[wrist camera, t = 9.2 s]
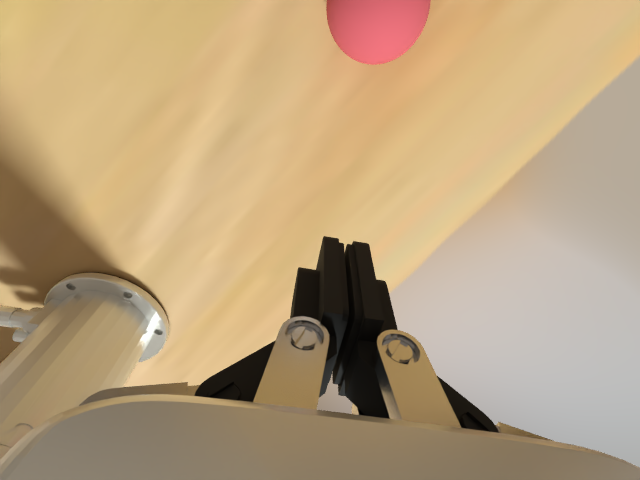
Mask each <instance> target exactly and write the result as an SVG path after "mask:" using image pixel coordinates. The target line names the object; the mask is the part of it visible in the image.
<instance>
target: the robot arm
mask: <svg viewBox="0 0 640 480" xmlns="http://www.w3.org/2000/svg"><path fill="white" fill-rule="evenodd" d="M0 326H4V327H11V328H13V327H19V328H18V329H17V330H16V331H15V332H14V334H13V340H14V341H16V342H21V343H20V344H19V345H18V346H17V347H16V348H15V349H14V350H13V351H12V352H11V353H10V354H9V356H8V357H7V358H6V359H5V360H4V361H3V362H2V363H1V364H0V480H640V468H639V467H637V466H635V465H633V464H631V463H628V462H626V461H624V460H622V459H619V458H616V457H613V456H611V455H607V454H605V453H602V452H599V451H595V450H591V449H588V448H584V447H580V446H576V445H571V444H566V443H561V442H555V441H552V440H550V439H547V438H544V437H541V436H538V435H535V434H532V433H530V432H526V431H524V430H521V429H518V428H515V427H512V426H509V425H506V424H503V423H501V422H498V424H497V425H494V423H493V422H492V421H491V420H490V419H489V418H488V417H487V416H486V415H485V414H484V413H483V412H482V411H480V410H479V409H478V408H477V407H475V406H474V405H473V404H472V403H470V402H469V401H468V400H467V399H465V398H464V397H463V396H462V395H460V394H459V393H458V392H457V391H455V390H454V389H453V388H452V387H450V386H449V385H448V384H447V383H445V382H444V381H443V380H442V379H440V378H439V377H438V376H436V374H435V371H434V369H433V367H432V365H431V363H430V361H429V359H428V357H427V355H426V353H425V351H424V348H423V347H422V345H421V344H420V343H419V342H418V341H417V340H416V339H415V338H414V337H413V336H411V335H409V334H408V333H405V332H403V331H399V330H397V325H396V322H395V317H394V313H393V309H392V305H391V301H390V296H389V292H388V288H387V284H386V282H385V281H382V280H376V277H375V272H374V267H373V262H372V257H371V252H370V247H369V244H367V243H361V242H355V241H354V242H353V243H352V245H350V244H347V246H346V250H345V254H344V244H343V243H339V239H337V238H331V237H325V236H324V237H323V241H322V245H321V250H320V254H319V259H318V264H317V268H316V270H312V269H306V268H300V267H299V268H298V272H297V277H296V283H295V288H294V295H293V301H292V308H291V316H290V319H288V320H287V321H286V322H284V323H283V325H282V326H281V328H280V331H279V333H278V336H277V339H276V341H274V342H272V343H270V344H268V345H267V346H265V347H263V348H261V349H260V350H258V351H256V352H254V353H252V354H251V355H249V356H247V357H245V358H244V359H242V360H240V361H238V362H236V363H235V364H233V365H231V366H229V367H227V368H226V369H224V370H222V371H220V372H219V373H217V374H215V375H213V376H211V377H210V378H208V379H207V380H206V381H204V382H203V383H202V384H201V385H197V386H188V382H184V383H171V384H159V385H146V386H133V387H124V385H125V384H126V382H127V380H128V379H129V377H130V375H131V373H132V372H133V370H134V368H135V366H136V365H137V363H138V362H142V361H145V360H148V359H150V358H152V357H153V356H155V355H156V354H158V353H159V352H160V350H161V349H162V348H163V346H164V345H165V343H166V341H167V338H168V335H169V323H168V319H167V316H166V314H165V312H164V310H163V309H162V307H161V306H160V305H159V304H158V302H157V301H156V300H155V299H154V298H153V297H152V296H151V295H149V294H148V293H147V292H146V291H144V290H143V289H141V288H140V287H138V286H137V285H135V284H133V283H131V282H129V281H127V280H124V279H121V278H118V277H116V276H111V275H107V274H102V273H79V274H75V275H71V276H68V277H66V278H64V279H62V280H60V281H59V282H58V283H57V284H56V285H55V286H54V287H53V288H52V289H51V290H50V291H49V292H48V294H47V295H46V298H45V301H44V307H43V308H38V307H36V308H32V309H31V310H23V309H21V308H16V307H8V306H0ZM332 371H333V384H338V391H339V395H341V396H346V397H347V398H348V399H349V400H350V401H351V402H352V403H353V404H352V414H346V413H339V412H331V411H322V410H317V404H318V399H319V397H321V396H322V395H323V394H324V393H325V392H326V388H327V385H328V383H329V381H330V378H331V374H332Z"/></svg>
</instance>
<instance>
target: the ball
mask: <svg viewBox="0 0 640 480" xmlns="http://www.w3.org/2000/svg"><path fill="white" fill-rule="evenodd" d="M429 9H430V0H327V19H328V25H329V28H330V31H331V34H332V36H333V38H334V40H335V42H336V43H337V45H338V46H339V47H340V49H341V50H342V51H343V52H344V53H345V54H346V55H348V56H349V57H351V58H352V59H354V60H356V61H358V62H361V63H365V64H382V63H386V62H389V61H392V60H394V59H396V58H398V57H399V56H401V55H402V54H404V53H405V52H406V51H407V50H408V49H409V48H410V47H411V46H412V45H413V44H414V43H415V41H416V40H417V39H418V37H419V36H420V34H421V32H422V30H423V28H424V26H425V23H426V21H427V17H428V14H429Z"/></svg>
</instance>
